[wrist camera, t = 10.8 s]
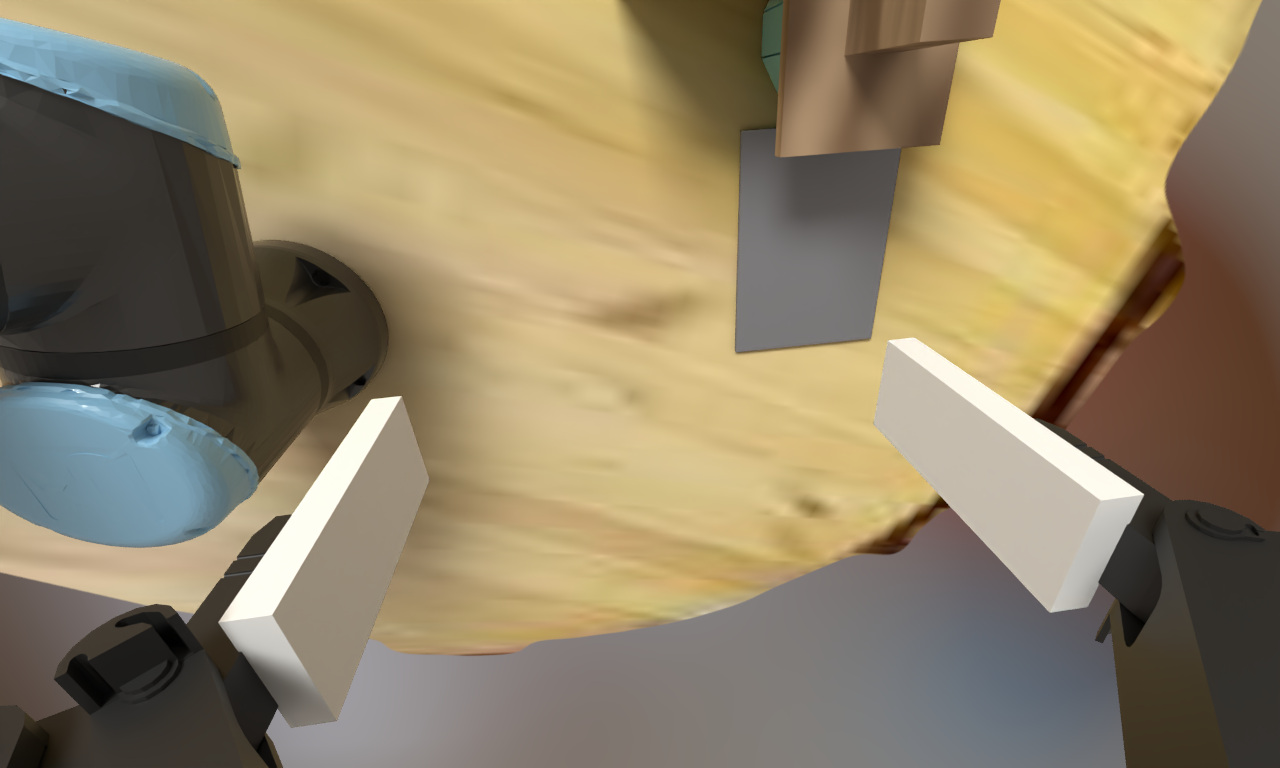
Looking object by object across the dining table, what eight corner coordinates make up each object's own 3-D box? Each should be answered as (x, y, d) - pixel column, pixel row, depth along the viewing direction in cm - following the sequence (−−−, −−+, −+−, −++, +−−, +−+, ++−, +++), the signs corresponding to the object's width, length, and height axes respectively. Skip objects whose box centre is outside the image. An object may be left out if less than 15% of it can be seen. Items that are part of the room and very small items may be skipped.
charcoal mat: (734, 350, 53) (735, 352, 52) (740, 130, 43) (742, 131, 43) (868, 336, 54) (870, 338, 53) (903, 118, 44) (906, 118, 44)
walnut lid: (774, 156, 39) (832, 170, 30) (791, -136, 31) (874, -231, 22) (930, 143, 39) (1030, 154, 31) (983, -145, 32) (1137, -240, 23)
